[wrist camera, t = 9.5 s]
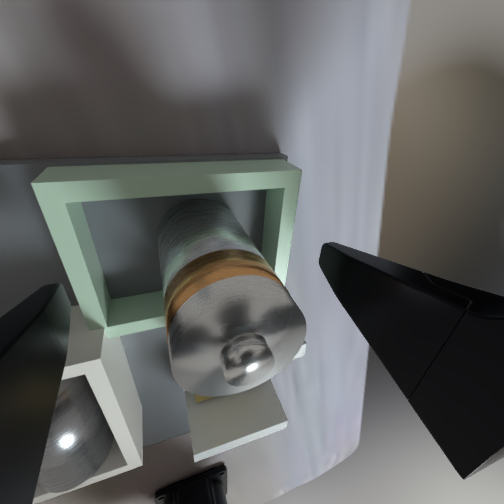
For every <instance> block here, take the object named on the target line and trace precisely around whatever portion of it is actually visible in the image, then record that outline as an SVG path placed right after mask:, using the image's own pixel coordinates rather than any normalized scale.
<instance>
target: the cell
mask: <svg viewBox="0 0 504 504" xmlns="http://www.w3.org/2000/svg"><path fill="white" fill-rule="evenodd" d="M157 242H158V252H159V261H160V270H161V280H162V289H163V298H164V315H165V324H166V334H167V343H168V347H169V354H170V363H171V372H172V375H173V378H174V379H175V381H176V382H177V384H178V385H179V386H180V387H182V388H183V389H184V390H186V391H188V392H190V393H193V394H196V395H201V396H209V397H217V396H227V395H232V394H236V393H240V392H243V391H246V390H249V389H251V388H254V387H256V386H258V385H260V384H262V383H264V382H266V381H267V380H269V379H271V378H272V377H274V376H275V375H276V374H278V373H279V372H280V371H281V370H283V369H284V368H285V367H286V366H287V365H288V364H289V363H290V362H291V361H292V360H293V358H294V357H295V356H296V354H297V353H298V352H299V350H300V348H301V346H302V344H303V342H304V339H305V336H306V321H305V317H304V315H303V313H302V312H301V310H300V309H299V307H298V306H297V305H296V303H295V302H294V300H293V299H292V297H291V296H290V294H289V292H288V290H287V289H286V288H285V286H284V285H283V283H282V282H281V280H280V279H279V278H278V276H277V275H276V273H275V272H274V271H273V269H272V268H271V266H270V265H269V264H268V262H267V261H266V260H265V259H264V257H263V256H262V255H261V253H260V252H259V250H258V249H257V247H256V246H255V245H254V243H253V242H252V240H251V239H250V237H249V236H248V235H247V233H246V232H245V230H244V229H243V227H242V226H241V225H240V223H239V222H238V220H237V219H236V217H235V216H234V215H233V213H232V212H231V211H230V210H229V209H228V208H227V207H226V206H225V205H223V204H222V203H220V202H218V201H215V200H211V199H206V198H196V199H190V200H186V201H184V202H181V203H179V204H178V205H176V206H174V207H173V208H172V209H170V210H169V211H168V212H167V213H166V215H165V216H164V217H163V219H162V221H161V222H160V225H159V227H158V232H157Z"/></svg>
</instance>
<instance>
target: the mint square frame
mask: <svg viewBox="0 0 504 504" xmlns="http://www.w3.org/2000/svg"><path fill="white" fill-rule="evenodd" d="M287 158H288V156H286V155H284V154H282V153H262V154H222V155H183V156H143V157H103V158H64V159H24V160H0V317H2V316H3V315H4V314H6V313H7V312H8V311H10V310H11V309H12V308H14V307H15V306H16V305H18V304H19V303H20V302H22V301H23V300H24V299H26V298H27V297H28V296H30V295H31V294H32V293H34V292H35V291H36V290H38V289H39V288H41V287H42V286H43V285H47V284H54V283H60V284H62V285H63V287H64V289H65V292H66V294H67V296H68V299H69V301H70V304H71V320H70V331H69V341H68V351H67V358H66V363H65V367H64V371H63V376H62V380H64V379H68V378H72V377H76V376H80V375H84V374H85V375H86V377H87V380H88V382H89V384H90V386H91V388H92V390H93V392H94V394H95V397H96V399H97V401H98V403H99V405H100V407H101V409H102V411H103V414H104V416H105V418H106V420H107V422H108V424H109V426H110V428H111V431H112V433H113V435H114V439H113V444H112V447H111V450H110V452H109V454H108V456H107V458H106V459H105V461H104V463H103V464H102V465H101V467H100V468H99V469H98V470H97V471H96V472H95V473H94V474H93V475H92V476H91V477H90V478H89V479H87V480H86V481H85V482H83V483H82V484H80V485H79V486H77V487H75V488H73V489H70V490H68V491H64V492H59V493H50V492H46V491H44V490H42V489H41V488H39V487H38V486H36V491H35V495H34V499H33V503H32V504H37V503H40V502H43V501H45V500H48V499H51V498H54V497H56V496H59V495H62V494H65V493H68V492H70V491H73V490H76V489H79V488H81V487H84V486H87V485H90V484H93V483H95V482H98V481H101V480H104V479H107V478H109V477H112V476H115V475H118V474H120V473H123V472H126V471H129V470H132V469H134V468H137V467H140V466H143V448H144V447H147V446H150V445H152V444H155V443H158V442H161V441H164V440H167V439H170V438H173V437H176V436H179V435H182V434H185V433H188V432H190V434H191V441H192V448H193V455H194V462H197V461H200V460H203V459H205V458H208V457H211V456H213V455H216V454H218V453H221V452H224V451H226V450H229V449H232V448H234V447H237V446H240V445H242V444H245V443H248V442H250V441H253V440H256V439H258V438H261V437H264V436H266V435H269V434H272V433H274V432H277V431H279V430H282V429H285V428H286V427H287V423H288V419H287V417H286V415H285V412H284V410H283V408H282V405H281V403H280V401H279V398H278V396H277V394H276V392H275V389H274V387H273V385H272V382H271V380H270V379H269V380H267V381H266V382H264V383H262V384H260V385H258V386H256V387H254V388H251V389H249V390H246V391H243V392H240V393H236V394H232V395H227V396H217V397H213V398H210V399H207V400H203V401H200V402H197V403H196V401H195V395H194V394H193V393H190V392H188V391H186V390H184V389H183V388H182V387H180V386H179V385H178V384H177V382H176V381H175V379H174V378H173V375H172V372H171V363H170V354H169V347H168V343H167V334H166V324H165V315H164V298H163V289H162V280H161V270H160V261H159V252H158V242H157V232H158V227H159V225H160V222H161V221H162V219H163V217H164V216H165V215H166V213H167V212H168V211H169V210H170V209H172V208H173V207H174V206H176V205H178V204H179V203H181V202H184V201H186V200H190V199H196V198H206V199H211V200H215V201H218V202H220V203H222V204H223V205H225V206H226V207H227V208H228V209H229V210H230V211H231V212H232V213H233V215H234V216H235V217H236V219H237V220H238V222H239V223H240V225H241V226H242V227H243V229H244V230H245V232H246V233H247V235H248V236H249V237H250V239H251V240H252V242H253V243H254V245H255V246H256V247H257V249H258V250H259V252H260V253H261V255H262V256H263V257H264V259H265V260H266V261H267V262H268V264H269V265H270V266H271V268H272V269H273V271H274V272H275V273H276V275H277V276H278V278H279V279H280V280H281V282H282V283H283V285H284V286H285V281H286V274H287V268H288V261H289V254H290V248H291V241H292V234H293V228H294V221H295V214H296V208H297V201H298V194H299V188H300V181H301V174H302V170H301V169H299V168H298V167H296V166H294V165H292V164H291V163H289V162H287ZM306 344H307V343H306V342H305V340H304V342H303V344H302V346H301V348H300V350H299V352H298V353H297V354H296V356H295V357H294V358H293V359H296V358H299V357H302V356H304V353H305V349H306Z"/></svg>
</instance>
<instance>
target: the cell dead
mask: <svg viewBox="0 0 504 504" xmlns="http://www.w3.org/2000/svg"><path fill="white" fill-rule="evenodd" d="M113 439H114V435H113V433H112V431H111V428H110V426H109V424H108V422H107V420H106V418H105V416H104V414H103V411H102V409H101V407H100V405H99V403H98V401H97V399H96V397H95V394H94V392H93V390H92V388H91V386H90V384H89V382H88V380H87V377H86V375H85V374H84V375H80V376H76V377H72V378H68V379H64V380H61V384H60V388H59V393H58V397H57V401H56V406H55V410H54V414H53V418H52V423H51V427H50V431H49V435H48V440H47V444H46V448H45V452H44V457H43V461H42V465H41V469H40V474H39V478H38V482H37V486H38V487H39V488H41V489H42V490H44V491H46V492H50V493H59V492H64V491H68V490H70V489H73V488H75V487H77V486H79V485H80V484H82V483H83V482H85V481H86V480H87V479H89V478H90V477H91V476H92V475H93V474H94V473H95V472H96V471H97V470H98V469H99V468H100V467H101V465H102V464H103V463H104V461H105V459H106V458H107V456H108V454H109V452H110V450H111V447H112V444H113Z"/></svg>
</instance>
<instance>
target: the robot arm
mask: <svg viewBox="0 0 504 504" xmlns="http://www.w3.org/2000/svg"><path fill="white" fill-rule="evenodd" d="M319 265H320V268H321V270H322V271H323V273H324V275H325V277H326V279H327V281H328V282H329V284H330V286H331V288H332V290H333V292H334V293H335V295H336V297H337V298H338V300H339V301H340V303H341V304H342V306H343V307H344V308H345V310H346V311H347V313H348V314H349V316H350V317H351V319H352V320H353V321H354V323H355V324H356V326H357V327H358V329H359V330H360V332H361V333H362V335H363V336H364V337H365V339H366V340H367V342H368V343H369V345H370V346H371V347H372V349H373V350H374V352H375V353H376V355H377V356H378V358H379V359H380V360H381V362H382V363H383V365H384V366H385V368H386V369H387V371H388V372H389V374H390V375H391V377H392V378H393V379H394V381H395V382H396V384H397V385H398V387H399V388H400V390H401V391H402V392H403V394H404V395H405V397H406V398H407V399H408V401H409V403H410V404H411V406H412V407H413V409H414V410H415V412H416V413H417V414H418V416H419V417H420V419H421V420H422V422H423V423H424V425H425V426H426V428H427V429H428V430H429V432H430V433H431V434H432V436H433V438H434V439H435V441H436V442H437V443H438V445H439V446H440V448H441V449H442V451H443V452H444V454H445V455H446V456H447V458H448V459H449V461H450V462H451V464H452V465H453V467H454V468H455V470H456V471H457V472H458V473H459V475H460V476H461V477H462V478H463V479H466V478H468V477H470V476H472V475H473V474H475V473H477V472H478V471H480V470H482V469H484V468H485V467H487V466H489V465H491V464H492V463H494V462H496V461H497V460H499V459H501V458H503V457H504V296H500V295H497V294H493V293H490V292H487V291H483V290H480V289H476V288H472V287H469V286H466V285H462V284H459V283H456V282H452V281H449V280H446V279H443V278H440V277H437V276H434V275H431V274H428V273H425V272H424V273H423V272H422V271H419V270H416V269H412V268H410V267H406V266H403V265H401V264H398V263H395V262H392V261H389V260H386V259H383V258H380V257H377V256H374V255H371V254H368V253H365V252H362V251H359V250H356V249H353V248H350V247H347V246H344V245H341V244H338V243H335V242H329V243H324V244H323V245H322V249H321V253H320V258H319ZM70 320H71V304H70V301H69V299H68V296H67V294H66V292H65V289H64V287H63V285H62V284H60V283H54V284H47V285H43V286H42V287H41V288H39V289H38V290H36V291H35V292H34V293H32V294H31V295H30V296H28V297H27V298H26V299H24V300H23V301H22V302H20V303H19V304H18V305H16V306H15V307H14V308H12V309H11V310H10V311H8V312H7V313H6V314H4V315H3V316H2V317H0V504H32V503H33V499H34V495H35V491H36V486H37V482H38V478H39V474H40V469H41V465H42V461H43V457H44V452H45V448H46V444H47V440H48V435H49V431H50V427H51V423H52V418H53V414H54V410H55V406H56V401H57V397H58V393H59V388H60V384H61V380H62V376H63V371H64V367H65V363H66V358H67V351H68V341H69V331H70ZM226 494H227V469H226V466H221V467H219V468H216V469H214V470H211V471H209V472H206V473H203V474H201V475H198V476H196V477H193V478H191V479H188V480H186V481H183V482H181V483H178V484H176V485H173V486H170V487H168V488H165V489H163V490H160V491H158V492H156V493H155V502H156V504H227V500H226Z"/></svg>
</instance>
